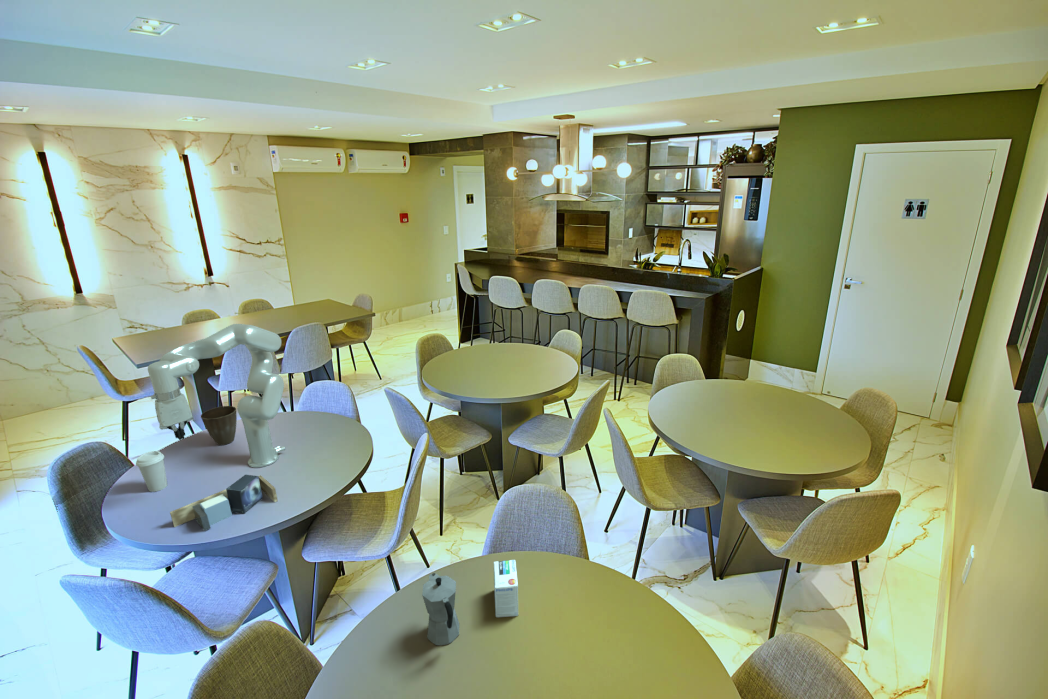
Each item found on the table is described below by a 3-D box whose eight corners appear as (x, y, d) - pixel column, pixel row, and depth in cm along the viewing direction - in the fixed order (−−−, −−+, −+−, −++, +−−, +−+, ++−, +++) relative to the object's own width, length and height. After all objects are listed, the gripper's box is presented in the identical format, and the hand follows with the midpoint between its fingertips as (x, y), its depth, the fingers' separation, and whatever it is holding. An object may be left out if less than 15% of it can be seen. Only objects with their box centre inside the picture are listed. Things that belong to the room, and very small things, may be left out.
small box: (245, 514, 190) (239, 490, 187) (230, 512, 192) (224, 489, 188) (264, 498, 200) (259, 475, 197) (250, 496, 201) (244, 473, 198)
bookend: (201, 517, 189) (198, 504, 187) (210, 528, 182) (207, 514, 181) (195, 519, 187) (192, 506, 186) (204, 531, 181) (200, 517, 179)
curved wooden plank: (263, 487, 207) (260, 475, 205) (277, 501, 198) (275, 487, 196) (173, 525, 185) (169, 512, 183) (185, 542, 176) (181, 528, 174)
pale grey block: (227, 510, 193) (222, 493, 191) (232, 516, 190) (228, 499, 187) (203, 520, 188) (199, 503, 185) (208, 526, 184) (204, 509, 182)
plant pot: (209, 438, 250) (202, 409, 245) (243, 432, 256) (237, 403, 251) (206, 451, 237) (198, 421, 232) (241, 444, 243) (234, 414, 238)
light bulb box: (494, 589, 152) (492, 560, 148) (516, 587, 152) (515, 558, 149) (495, 618, 141) (494, 588, 138) (519, 616, 142) (518, 585, 139)
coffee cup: (177, 483, 212) (168, 451, 207) (155, 495, 204) (145, 463, 199) (161, 479, 215) (152, 448, 210) (138, 491, 207) (128, 459, 202)
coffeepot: (419, 621, 141) (413, 569, 135) (451, 608, 145) (446, 557, 140) (437, 664, 128) (431, 609, 123) (471, 648, 132) (467, 594, 127)
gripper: (146, 403, 177) (160, 449, 183) (194, 390, 187) (206, 433, 193) (141, 398, 181) (155, 443, 187) (188, 385, 192) (199, 428, 198)
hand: (181, 438), depth 190 cm, fingers closed
